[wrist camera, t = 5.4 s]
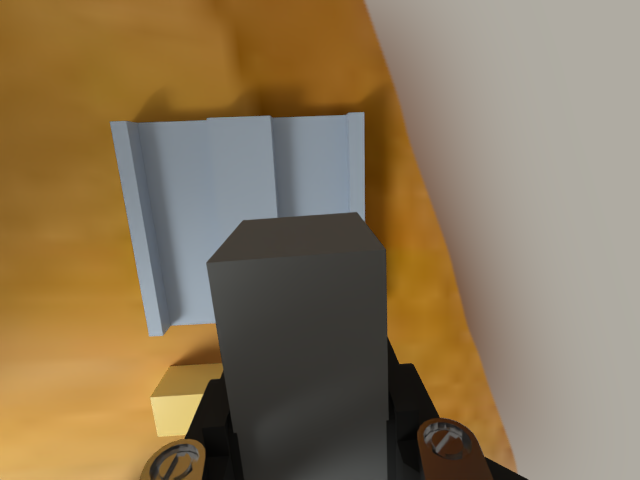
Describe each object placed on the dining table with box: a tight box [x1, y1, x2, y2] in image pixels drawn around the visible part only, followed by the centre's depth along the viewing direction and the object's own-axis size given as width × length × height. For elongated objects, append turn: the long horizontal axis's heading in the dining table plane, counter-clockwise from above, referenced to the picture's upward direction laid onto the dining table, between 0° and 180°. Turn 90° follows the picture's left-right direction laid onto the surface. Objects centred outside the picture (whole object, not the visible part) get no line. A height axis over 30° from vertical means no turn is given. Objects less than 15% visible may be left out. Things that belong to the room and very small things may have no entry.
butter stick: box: [150, 363, 223, 437], centre depth 28 cm, size 11×4×4 cm, turn 92°
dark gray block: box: [206, 212, 389, 480], centre depth 10 cm, size 11×4×4 cm, turn 4°
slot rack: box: [110, 112, 365, 336], centre depth 25 cm, size 16×15×2 cm
